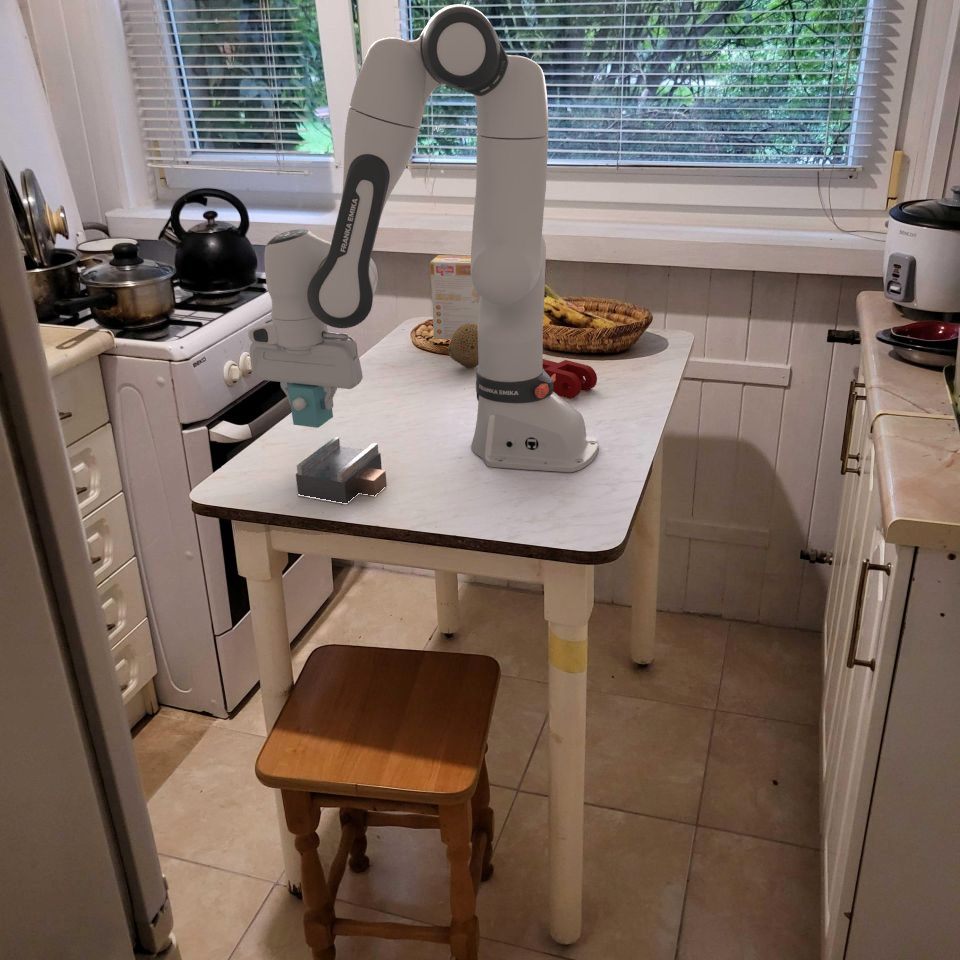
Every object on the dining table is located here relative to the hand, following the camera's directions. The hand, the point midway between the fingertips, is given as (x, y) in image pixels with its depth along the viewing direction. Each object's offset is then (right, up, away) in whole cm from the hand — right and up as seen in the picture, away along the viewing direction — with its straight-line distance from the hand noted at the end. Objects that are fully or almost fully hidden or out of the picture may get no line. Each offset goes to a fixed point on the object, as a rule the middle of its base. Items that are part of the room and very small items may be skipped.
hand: (311, 406), depth 169 cm
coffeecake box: (+27, +19, +59) cm, 67 cm away
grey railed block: (+8, -14, -8) cm, 18 cm away
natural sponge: (+27, +11, +42) cm, 51 cm away
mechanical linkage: (+45, +6, +31) cm, 55 cm away
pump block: (0, -2, +1) cm, 3 cm away
